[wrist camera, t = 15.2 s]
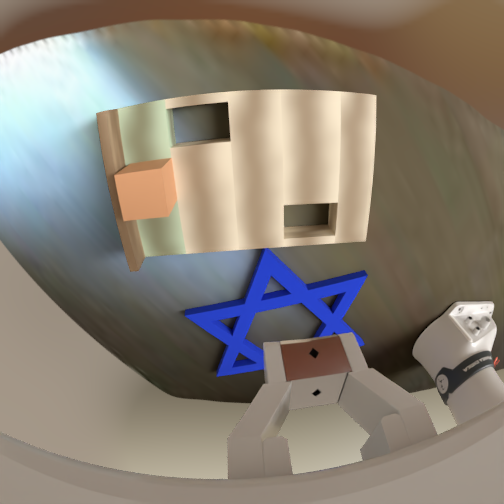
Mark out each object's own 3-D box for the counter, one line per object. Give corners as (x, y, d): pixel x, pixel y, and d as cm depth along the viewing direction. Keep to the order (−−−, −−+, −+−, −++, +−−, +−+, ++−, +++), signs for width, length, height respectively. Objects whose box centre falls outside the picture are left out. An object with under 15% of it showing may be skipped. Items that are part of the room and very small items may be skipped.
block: (171, 157, 27) (161, 168, 23) (177, 199, 29) (168, 216, 25) (130, 163, 27) (114, 175, 23) (137, 203, 29) (123, 221, 25)
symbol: (367, 226, 34) (362, 369, 49) (361, 221, 35) (359, 362, 50) (164, 272, 36) (228, 397, 50) (166, 265, 37) (228, 390, 52)
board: (364, 94, 27) (389, 96, 22) (356, 230, 36) (375, 253, 30) (119, 109, 26) (96, 113, 21) (144, 245, 35) (130, 271, 30)
